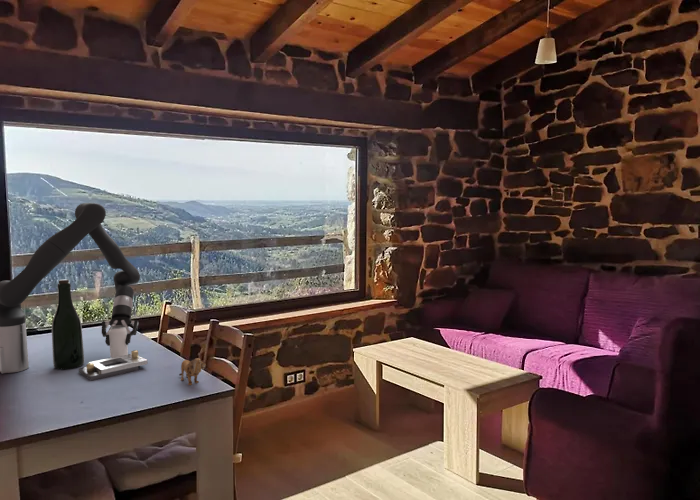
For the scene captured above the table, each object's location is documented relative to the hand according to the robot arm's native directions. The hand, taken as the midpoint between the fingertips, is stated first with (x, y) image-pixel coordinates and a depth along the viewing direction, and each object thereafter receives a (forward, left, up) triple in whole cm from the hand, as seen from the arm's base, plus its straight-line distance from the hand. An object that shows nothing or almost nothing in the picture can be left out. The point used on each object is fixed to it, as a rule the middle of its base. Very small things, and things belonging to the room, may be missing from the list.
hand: (117, 344), depth 215 cm
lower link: (-9, -15, -6) cm, 18 cm away
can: (+1, +1, -6) cm, 6 cm away
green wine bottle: (-17, +3, -6) cm, 18 cm away
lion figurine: (+7, -47, -6) cm, 48 cm away
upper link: (-5, -15, -4) cm, 16 cm away
